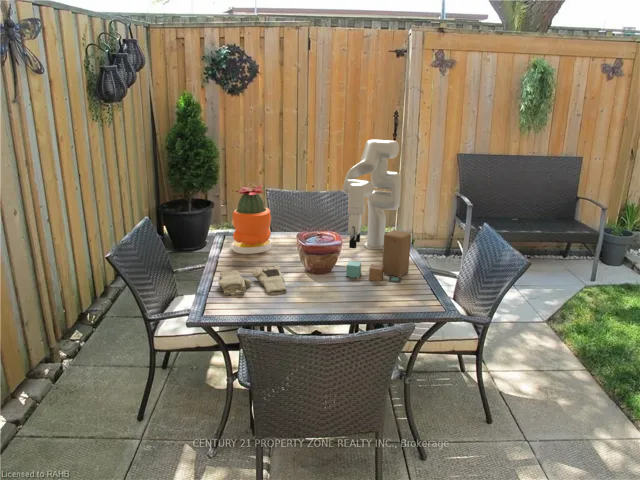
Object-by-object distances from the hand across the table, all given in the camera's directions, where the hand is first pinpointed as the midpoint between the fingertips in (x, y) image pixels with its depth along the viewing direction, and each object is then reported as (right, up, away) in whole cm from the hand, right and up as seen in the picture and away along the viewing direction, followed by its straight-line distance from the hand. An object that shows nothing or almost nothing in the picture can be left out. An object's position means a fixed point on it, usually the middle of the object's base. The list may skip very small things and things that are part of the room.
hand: (354, 244), depth 255 cm
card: (+19, -17, 0) cm, 25 cm away
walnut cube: (+10, -16, +2) cm, 19 cm away
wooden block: (+20, -14, +9) cm, 26 cm away
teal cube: (0, -15, +5) cm, 16 cm away
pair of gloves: (-48, -18, -7) cm, 52 cm away
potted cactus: (-52, -3, +38) cm, 65 cm away
